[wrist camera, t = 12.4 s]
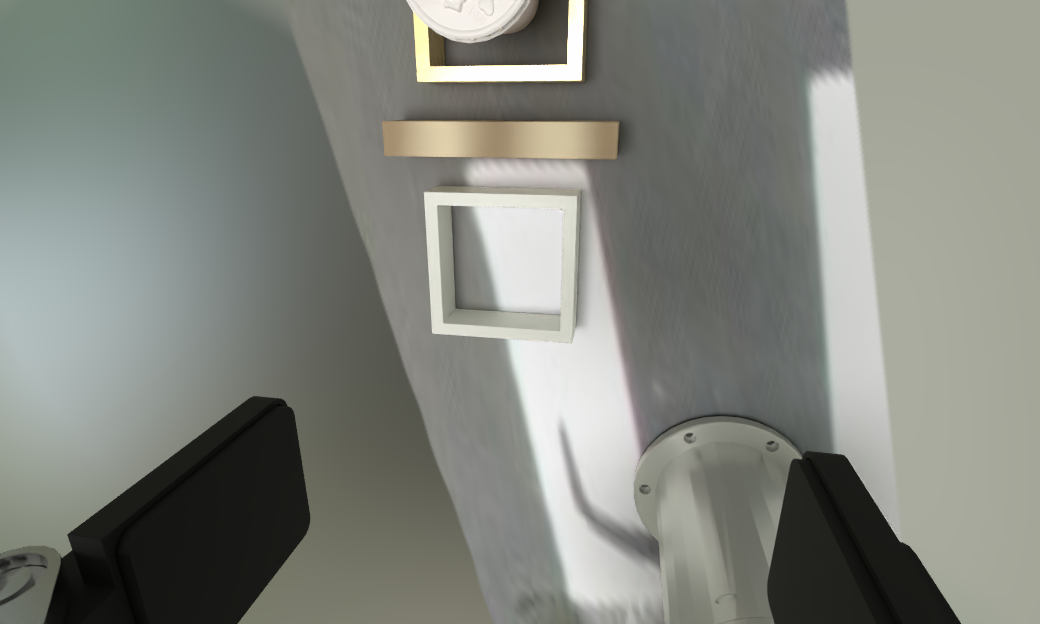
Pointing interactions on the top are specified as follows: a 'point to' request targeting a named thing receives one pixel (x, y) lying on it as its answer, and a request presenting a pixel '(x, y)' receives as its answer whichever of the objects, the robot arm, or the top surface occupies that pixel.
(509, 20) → the smoothie
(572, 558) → the top surface
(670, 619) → the robot arm
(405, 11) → the top surface
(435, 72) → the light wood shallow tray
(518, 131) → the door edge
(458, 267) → the top surface
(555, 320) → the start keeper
